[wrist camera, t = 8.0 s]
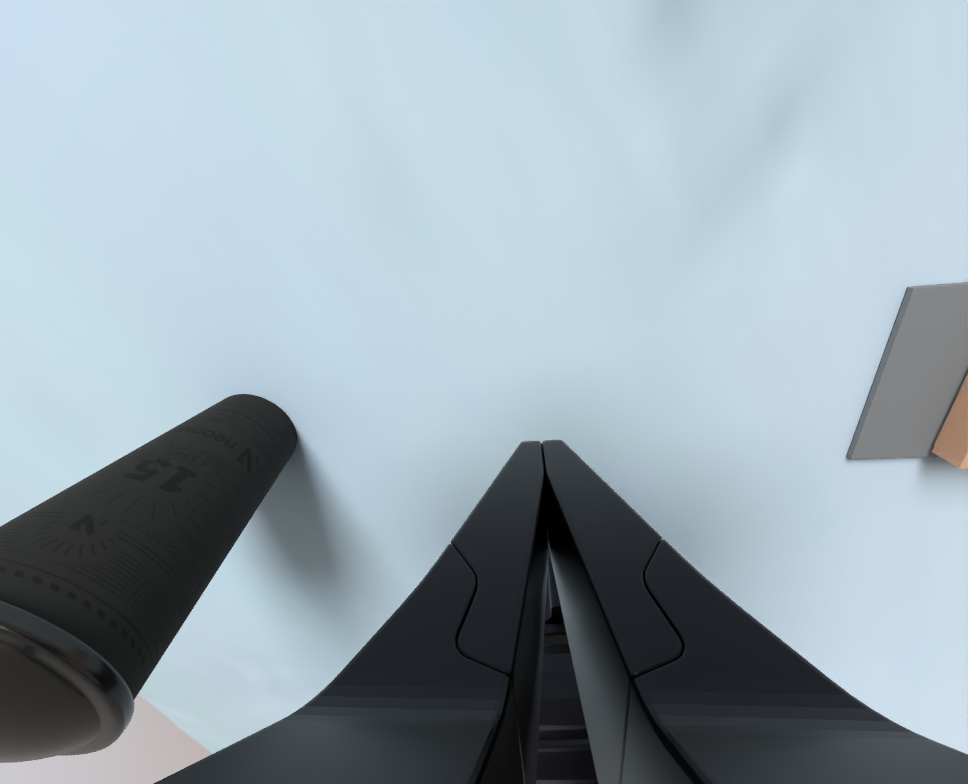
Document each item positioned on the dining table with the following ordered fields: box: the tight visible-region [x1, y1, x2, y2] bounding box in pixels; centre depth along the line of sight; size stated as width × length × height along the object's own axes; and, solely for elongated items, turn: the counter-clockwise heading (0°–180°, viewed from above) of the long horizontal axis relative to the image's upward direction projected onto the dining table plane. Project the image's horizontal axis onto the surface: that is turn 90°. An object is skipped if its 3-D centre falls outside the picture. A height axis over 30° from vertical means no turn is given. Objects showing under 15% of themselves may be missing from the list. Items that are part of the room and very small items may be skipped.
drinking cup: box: [0, 394, 296, 763], centre depth 15 cm, size 8×8×20 cm
